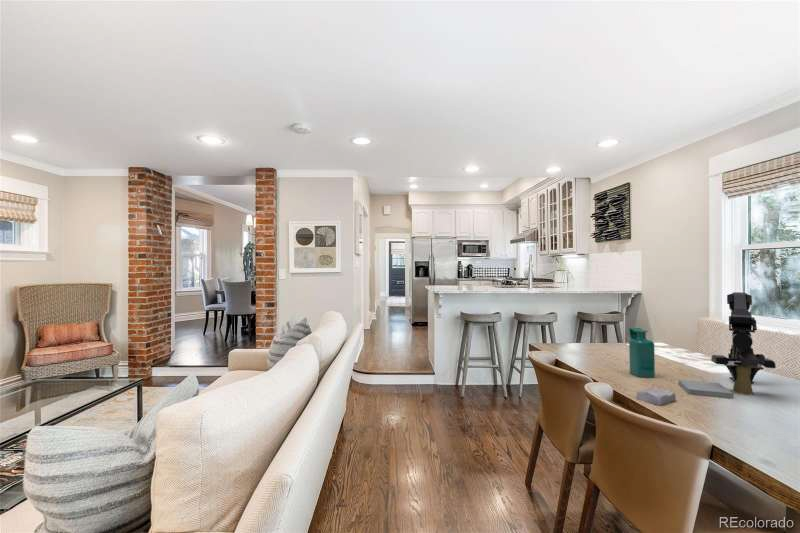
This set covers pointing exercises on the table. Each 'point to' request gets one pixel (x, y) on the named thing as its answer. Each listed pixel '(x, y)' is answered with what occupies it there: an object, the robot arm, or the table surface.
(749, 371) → the cork
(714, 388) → the plinth
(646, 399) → the stone block
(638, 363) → the teal bottle
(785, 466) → the table surface
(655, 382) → the table surface
